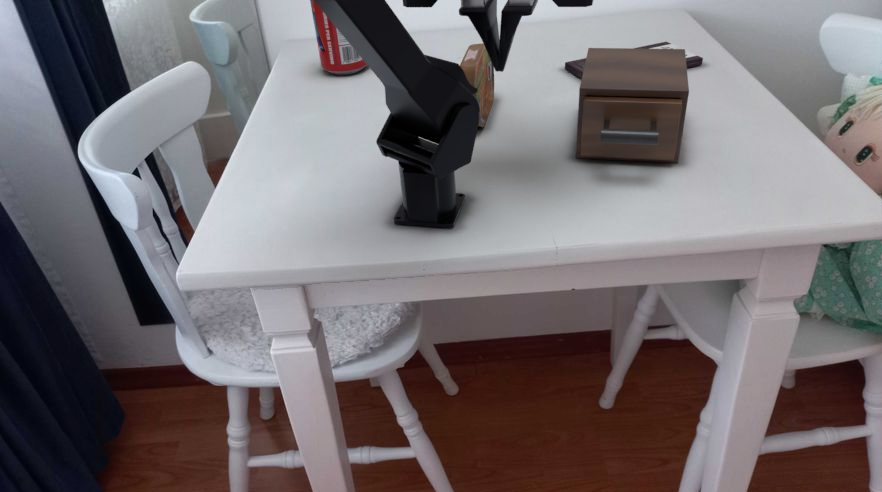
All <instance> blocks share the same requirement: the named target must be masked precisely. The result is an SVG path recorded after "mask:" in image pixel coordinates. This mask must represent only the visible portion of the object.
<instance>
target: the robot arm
mask: <svg viewBox="0 0 882 492" xmlns="http://www.w3.org/2000/svg"><path fill="white" fill-rule="evenodd" d="M314 1H315V3H316V4H317V5H318V6H319V7H320V9H321V10H322V11H323V12H324V13H325V15H326V16H327V17H328V18H329V19H330V21H331V22H332V23H333V24H334V25H335V27H336V28H337V29H338V30H339V31H340V33H341V34H342V35H343V36H344V37H345V39H346V40H347V41H348V42H349V43H350V45H351V46H352V47H353V48H354V49H355V51H356V52H357V53H358V54H359V55H360V57H361V58H362V59H363V60H364V61H365V63H366V64H367V67H368V68H369V69H370V70H371V71H372V73H373V74H374V75H375V76H376V77H377V79H378V80H379V81H380V82H381V83H382V85H383V87H384V97H385V98H384V99H385V105H386V107H387V108H388V110H389V115H388V116H387V118H386V120H385V122H384V124H383V127H382V128H381V130H380V132H379V135H378V136H377V138H376V141H375V142H376V145H377V147H378V149H379V151H380V153H381V155H382V156H383V157H385V158H390V159H392V160H395V161H397V162H398V171H399V180H400V188H401V198H402V202H401V204H400V206H399V208H398V210H397V211H396V212H395V215H394V216H393V223H394V224H395V225H404V226H405V225H407V226H417V227H418V226H420V227H432V228H446V229H450V228H453V227H455V225H456V222H457V219H458V217H459V215H460V212H461V211H462V208H463V206H464V203H465V200H466V194H465V193H462V192H457V189H456V173H455V172H456V171H457V170H459V169H461V168H463V167H464V166H467V165H469V164H470V163H471V162H472V157H473V154H474V148H475V143H476V138H477V134H478V130H479V127H478V124H479V112H480V107H479V103H478V101H477V98H476V97H475V96H474V94H475V93H477V91H478V89H477V88H475V87H473V86H472V85H471V84H470V83H469V81H468V80H467V77H466V75H465V73H464V71H463V69H462V68H461V67H460V64H459V63H457V62H453V61H450V60H446V59H442V58H438V57H435V56H431V55H428V54H425V53H424V52H423V51H422V49H421V48H420V47H419V45H418V44H417V43H416V41H415V40H414V39H413V37H412V36H411V34H410V33H409V31H408V30H407V28H406V27H405V26H404V24H403V23H402V22H401V20H400V19H399V18H398V16H397V14H396V13H395V12H394V10H393V9H392V8H391V6H390V5H389V4H388V2H387V0H314ZM438 1H439V0H402V7H405V8H433V6H435V4H436V3H437V2H438ZM538 2H539V0H507V1H506V2H505V4H504V6H503V8H502V9H501V12H500V13H501V14H500V29H499V23H498V0H460V6H459V7H460V8H459V9H458V15H459V16H461V17H467V18H468V19H469V21H470V23H471V24H472V26H473V27H474V29H475V30H476V32H477V34H478V36H479V37H480V39H481V42H482V44H484V46H485V48H486V50H487V53H488V55H489V57H490V59H491V62H492V64H493V66H494V72H504V71H505V69H506V65H507V62H508V58H509V56H510V51H511V48H512V45H513V42H514V38H515V35H516V32H517V29H518V26H519V24H520V23H521V20H522V17H528V16H532V14H533V13H534V11H535V8H536V6H537V4H538ZM551 2H553V3H554V4H555V6H557V8H587V7H591V6H593V4H594V0H551Z"/></svg>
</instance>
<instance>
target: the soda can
mask: <svg viewBox="0 0 882 492" xmlns="http://www.w3.org/2000/svg"><path fill="white" fill-rule="evenodd" d="M309 3H310V7H311V13H312V14H311V15H312V19H313V27H314V30H315V31H314V32H315V37H316V43H317V50H318V55H319V61H320V66H321V68H322V69H323V70H324V71H326V72H328V73H330V74H333V75H337V76H341V75H342V76H344V75H345V76H346V75H351V74H352V75H353V74H356V73H358V72H360V71H362V70H363V69H364V68H365V67H368V65H367V64H366V63H365V61H364V60H363V59H362V58H361V57H360V55H359V54H358V53H357V52H356V51H355V49H354V48H353V47H352V46H351V45H350V43H349V42H348V41H347V40H346V39H345V37H344V36H343V35H342V34H341V33H340V31H339V30H338V29H337V28H336V27H335V25H334V24H333V23H332V22H331V21H330V19H329V18H328V17H327V16H326V15H325V13H324V12H323V11H322V10H321V9H320V7H319V6H318V5H317V4H316V3H315V1H314V0H309Z"/></svg>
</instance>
